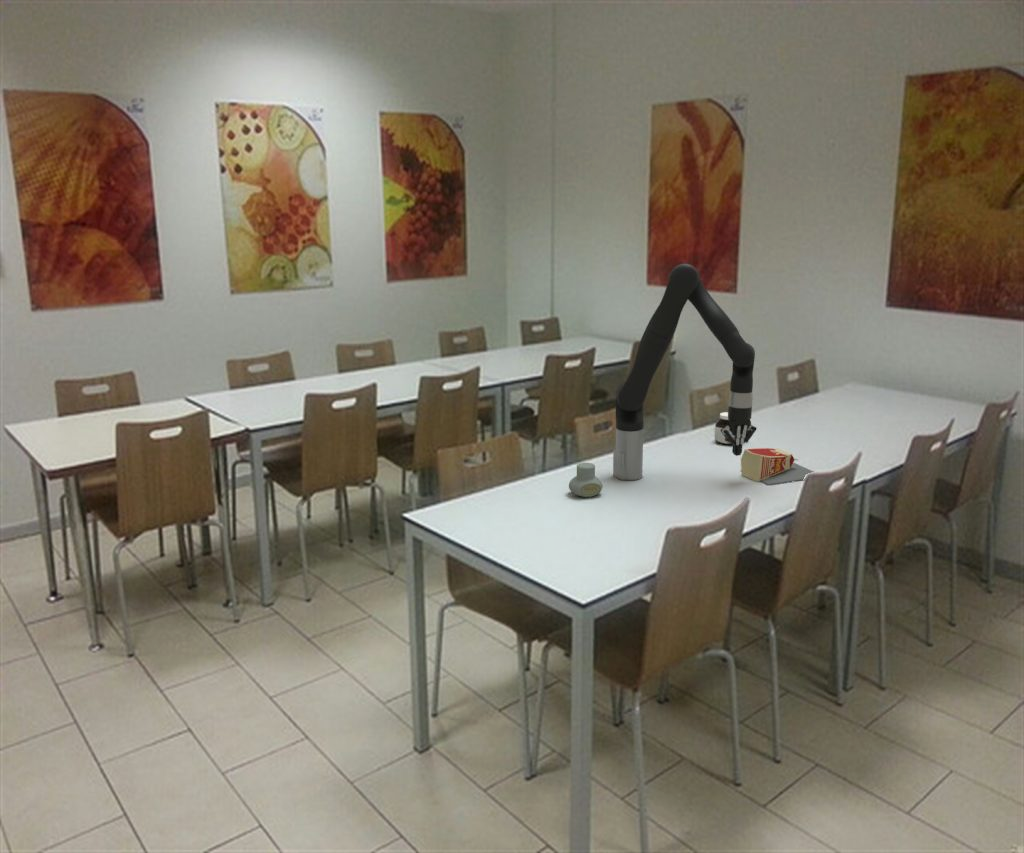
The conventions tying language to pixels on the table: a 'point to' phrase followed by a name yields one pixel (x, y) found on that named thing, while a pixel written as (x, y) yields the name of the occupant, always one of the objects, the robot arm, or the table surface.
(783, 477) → the mat
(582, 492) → the air freshener
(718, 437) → the spread jar
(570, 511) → the table surface
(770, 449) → the milk carton
